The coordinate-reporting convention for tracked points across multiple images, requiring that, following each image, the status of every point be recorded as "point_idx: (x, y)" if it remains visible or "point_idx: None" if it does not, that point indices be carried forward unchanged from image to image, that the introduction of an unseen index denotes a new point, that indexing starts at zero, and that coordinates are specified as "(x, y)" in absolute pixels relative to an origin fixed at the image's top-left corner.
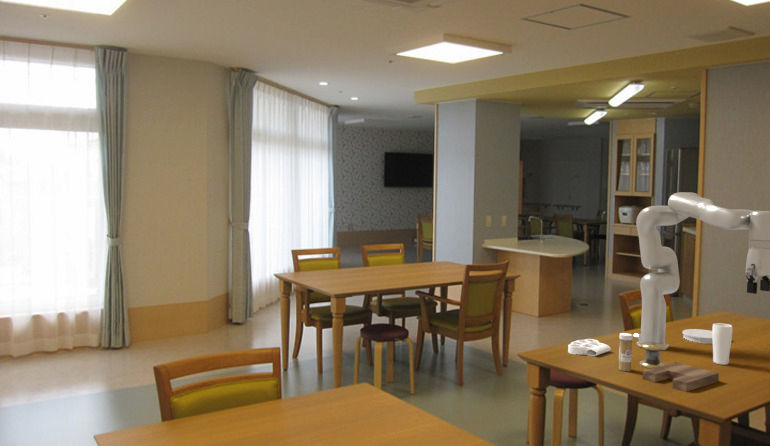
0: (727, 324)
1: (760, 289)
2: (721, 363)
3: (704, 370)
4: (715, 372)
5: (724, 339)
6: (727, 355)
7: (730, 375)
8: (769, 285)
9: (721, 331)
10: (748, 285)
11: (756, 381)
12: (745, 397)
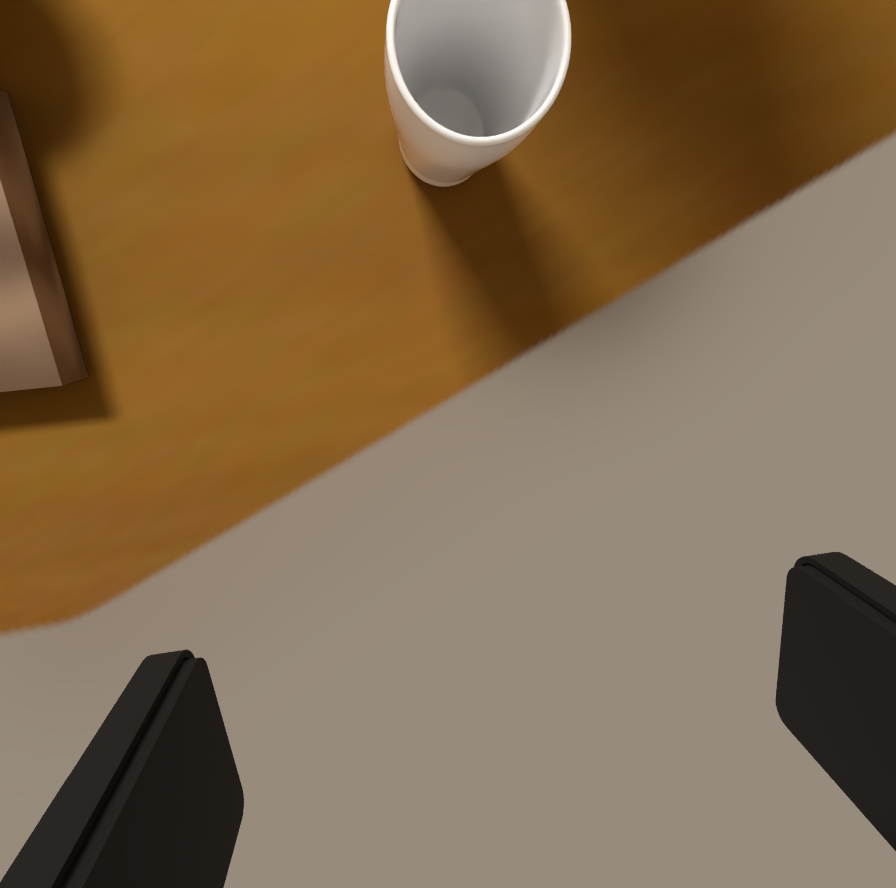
0: (563, 47)
1: (797, 576)
2: (409, 167)
3: (18, 310)
4: (55, 366)
5: (412, 148)
6: (441, 180)
7: (262, 332)
8: (890, 834)
9: (397, 105)
10: (59, 846)
11: (297, 455)
12: (14, 578)
